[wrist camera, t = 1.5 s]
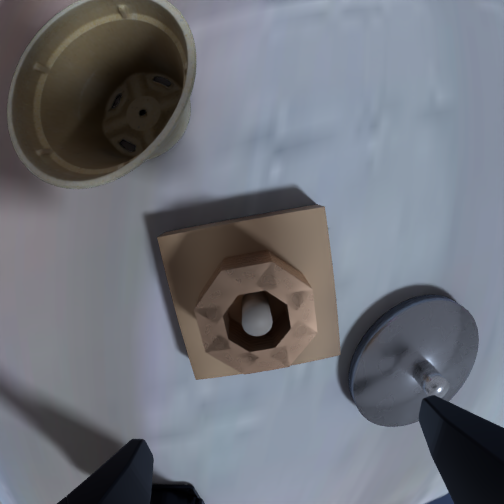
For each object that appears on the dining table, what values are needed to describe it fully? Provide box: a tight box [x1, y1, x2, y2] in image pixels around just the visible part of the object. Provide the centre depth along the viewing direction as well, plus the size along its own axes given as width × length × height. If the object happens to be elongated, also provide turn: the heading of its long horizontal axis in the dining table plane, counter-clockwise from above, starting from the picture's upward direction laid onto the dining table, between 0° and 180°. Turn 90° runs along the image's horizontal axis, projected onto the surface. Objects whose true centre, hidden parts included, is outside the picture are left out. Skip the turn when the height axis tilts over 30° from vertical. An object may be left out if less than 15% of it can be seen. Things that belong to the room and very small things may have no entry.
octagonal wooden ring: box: [194, 249, 318, 374], centre depth 18 cm, size 6×6×3 cm
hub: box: [348, 295, 479, 427], centre depth 21 cm, size 12×12×4 cm
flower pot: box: [7, 0, 196, 189], centre depth 15 cm, size 9×9×9 cm
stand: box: [157, 204, 341, 380], centre depth 19 cm, size 10×10×5 cm
